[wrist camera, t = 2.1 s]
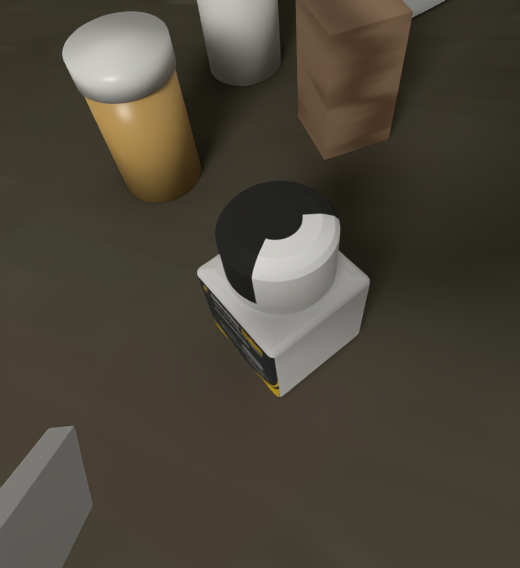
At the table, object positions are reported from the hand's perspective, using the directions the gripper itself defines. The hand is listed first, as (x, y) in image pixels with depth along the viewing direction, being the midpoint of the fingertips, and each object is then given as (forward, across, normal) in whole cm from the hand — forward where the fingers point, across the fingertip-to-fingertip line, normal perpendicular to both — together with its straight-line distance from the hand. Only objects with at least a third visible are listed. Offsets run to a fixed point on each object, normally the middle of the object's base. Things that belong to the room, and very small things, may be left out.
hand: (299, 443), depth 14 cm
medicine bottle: (+19, 0, -3) cm, 19 cm away
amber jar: (+30, -9, +8) cm, 32 cm away
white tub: (+40, 0, +18) cm, 44 cm away
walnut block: (+32, +7, +10) cm, 34 cm away
